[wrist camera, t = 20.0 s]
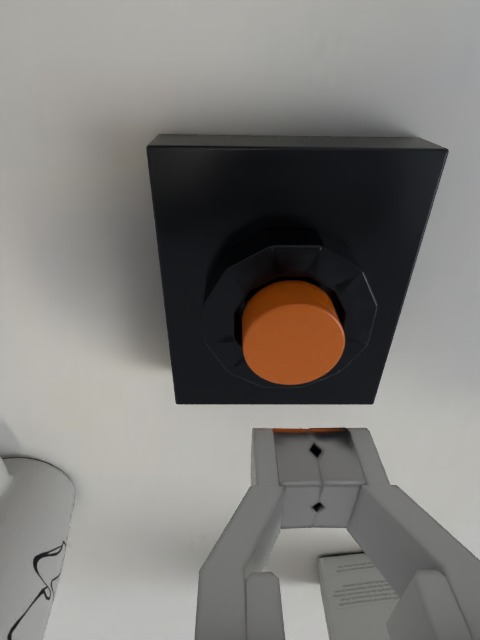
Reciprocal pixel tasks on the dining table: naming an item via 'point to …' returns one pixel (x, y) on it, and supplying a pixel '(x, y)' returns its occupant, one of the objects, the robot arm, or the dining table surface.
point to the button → (291, 333)
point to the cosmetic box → (355, 598)
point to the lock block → (286, 250)
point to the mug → (31, 543)
